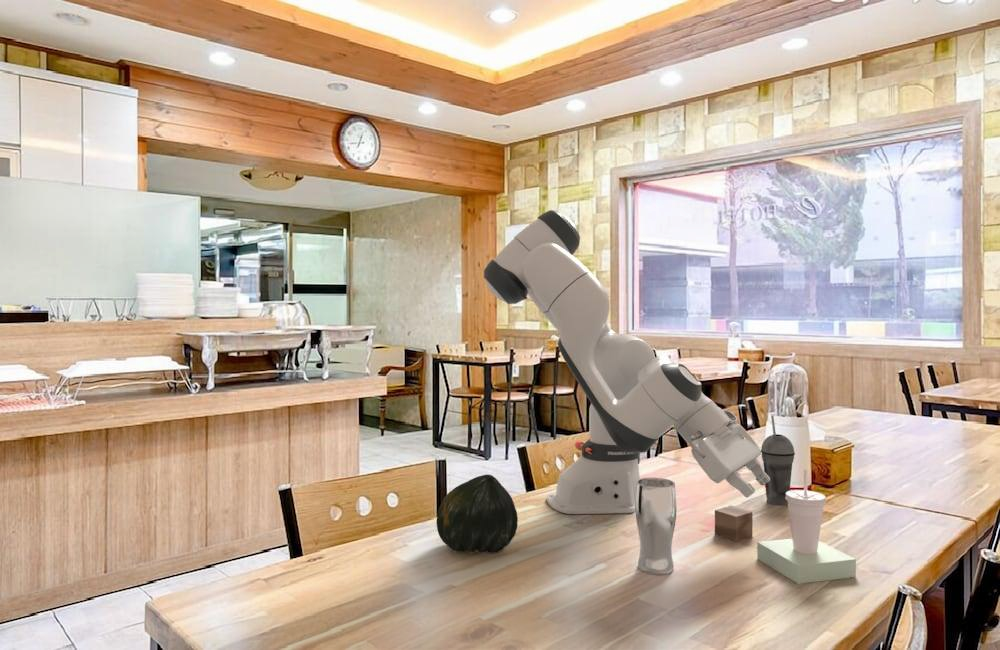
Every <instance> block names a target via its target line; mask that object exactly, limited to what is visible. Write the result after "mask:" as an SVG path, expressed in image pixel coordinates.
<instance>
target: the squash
mask: <svg viewBox="0 0 1000 650" xmlns="http://www.w3.org/2000/svg"><path fill="white" fill-rule="evenodd" d="M518 521H519V520H518V511H517V508H516V506H515V503H514V500H513V498H512V496H511V494H510V493H509V492H508V490H507V489H506V488H505V487H504V486H503V485H502V484H501V483H500V481H499V480H498V479H497V478H496V477H495V476H493V475H492V474H483V475H478V476H476V477H473V478H471V479H470V480H467V481H466V482H463V483H461V484H459V485H457V486H456V487H454V488H453V489H451V490H449V492H448V493H447V494H446V495H445V496H444V497H443V499H442V502H441V504H440V505H439V507H438V510H437V514H436V528H437V534H438V536H439V537H440V540H441V541H442V543H444V544H445V545H446V547H448V548H449V549H450V550H451V551H454V552H456V553H461V552H465V551H466V552H467V553H474V552H475V551H477V552H478V553H484V552H485V553H489V554H497V553H500V552H502V551H503V550H504V549H505V548H506V547H507V546H509V544H510V543H511V542H512V541H513V539H514V537H515V535H516V534H517V533H516V532H517V529H518V523H519V522H518Z"/></svg>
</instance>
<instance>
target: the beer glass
mask: <svg viewBox="0 0 1000 650" xmlns="http://www.w3.org/2000/svg"><path fill="white" fill-rule="evenodd" d="M676 492H677V491H676V482H675V481H673V480H670V479H668V478H661V477H642V478H640V479H639V480H637V481H636V496H635V511H634V512H635V518H636V519H635V521H636V527H637V531H638V538H639V548H640V549H639V555H638V561H637V562H638V563H637V568H638V569H639V570H640V571H641V572H643V573H645V574H648V575H654V576H665V575H668V574H669V575H670V574H671V573H672V572H673V571H675V567H674V566H675V565H674V561H673V560H674V559H673V556H672V555H673V552H672V547H673V546H672V544H673V537H674V533H675V526H676V519H677V508H678V507H677V493H676Z"/></svg>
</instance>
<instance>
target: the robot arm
mask: <svg viewBox="0 0 1000 650" xmlns="http://www.w3.org/2000/svg"><path fill="white" fill-rule="evenodd" d="M580 240H581V236H580V234H579V231H578V229H577V227H576V224H575V223H574V222H573V221H572V220H571V219H570V218H569V217H568V216H566V215H565V214H563V213H561V212H559V211H558V210H552V209H550V210H547V211H545V212H544V213H542V214H541V215H539V216H537V219H536V220H535V221H533V222H532V223H530V224H529V225H527V226H526V227H525V228H523V229H522V230H521V231H520V232H518V233H517V234H516V235H515V236H514V238H513V239H512V240H510V241H509V243H508V244H507V245H505V247H503V249H502V250H501V251H500V252H499V253H498V254H497V255H496V257H495V258H494V259H491V260H490V261H489V262H488V264H487V265H486V267H485V268H484V269H483V278H484V280H485V283H486V286H487V288H488V290H489V292H490V293H491V294H492V295H493V296H494V297H495V298H496V299H498V300H500V301H502V302H504V303H506V304H509V305H516V304H518V303H520V302H522V301H524V300H527V299H528V296H529V297H530V299H531V301H533V304H534V305H535V306H536V307H537V308H538V310H539V311H540V312H541V313H542V314H543V316H544V317H545V318H546V319H547V320H548V321H549V322H550V324H552V326H553V327H554V328H555V329H556V331H558V333H559V339H558V342H557V346H558V350H559V352H560V354H561V355H562V359H563V360H564V362H565V364H566V365H567V367H568V369H569V370H570V372H571V373H572V375H573V377H574V379H575V380H576V382H577V383H578V385H579V386H580V388H581V389H582V392H584V394H585V396H586V397H587V399H588V400H589V402H590V406H589V409H588V410H589V411H588V413H589V416H588V419H589V421H588V422H589V423H588V426H589V427H588V428H589V431H588V433H589V435H588V436H589V437H588V440H586V441H585V442H583V441H582V440H576V441H575V443H574V447H575V449H577V450H579V451H581V455H580V457H579V458H578V459H577V460H575V461H574V462H573V463H572V464H570V465H569V466H568V467H566V468H564V469H563V470H562V471H561V472H560V474H559V475H558V479H557V483H556V484H557V485H556V488H555V489H556V490H555V492H550V493H548V494H547V496H546V502H547V504H548V505H549V506H550V507H551V508H552V509H554V510H555V511H557V512H560V513H563V514H567V515H586V514H587V515H590V514H600V515H601V514H633V513H634V512H635V496H636V481H637V480H639V479H641V478H640V468H639V467H640V466H639V464H640V462H641V458H640V457H641V453H647V452H648V451H649V450H650V449H651V448H652V447H653V446H654V444H655V443H656V442H657V441H659V438H660V437H661V436H663V435H664V434H665V433H666V432H667V431H668V430H670V428H672V427H674V428H675V430H676V431H677V432H678V434H679V435H680V436H681V437H682V438H683V440H684V441H685V443H687V444H688V446H690V448H691V451H690V452H691V454H692V457H693V458H694V459H695V461H696V462H697V464H698V465H699V466H700V468H701V469H702V470H703V472H704V473H705V474H706V476H707V477H708V478H709V479H710V480H711V481H713V482H714V483H716V484H720V483H721V482H723V481H725V480H726V482H727V483H728V484H729V486H732V488H734V489H736V490H738V491H739V492H740V493H741V494H742V495H743V496H744V497H745V498H749V497H751V496H752V495H753V494H754V493H756V489H755V488H754V487H753V486H752V484H751V483H750V482H746V480H744V479H743V477H741V474H740V473H739V471H741V469H744V467H746V468H747V470H749V471H751V473H752V475H754V477H755V481H756V482H758V483H759V485H760V486H763V487H764V486H765V484H766V483H767V482H769V481H770V477H769V476H768V475H767V474H766V473H765V472H764V467H763V466H762V463H761V462H760V461H759V460H758V458H759V457H760V456H762V452H761V449H760V447H759V445H758V444H757V442H756V441H755V440H754V438H753V437H752V436H751V435H750V433H748V432H747V430H746V429H745V428H744V427H743V426H742V424H739V423H738V417H737V416H736V415H735V414H734V413H733V412H732V411H729V410H725V409H722V408H721V407H719V406H718V405H717V404H716V403H715V402H714V401H713V400H712V399H710V397H708V396H706V395H705V394H704V393H703V391H702V383H701V381H699V380H698V378H697V377H696V376H695V375H694V374H693V373H692V372H691V370H689V368H687V366H685V365H684V364H681V363H676V362H675V361H674V360H673V359H671V358H670V357H668V356H667V355H659V356H655V355H656V354H655V351H654V350H653V348H652V345H650V344H649V343H648V342H647V341H645V340H643V339H642V338H639V337H637V336H636V335H633V334H632V335H631V334H623V333H617V332H615V331H614V330H612V329H611V327H610V326H609V325H608V323H607V321H608V318H609V313H610V308H611V307H610V306H611V305H610V304H611V302H610V296H609V294H608V291H607V290H606V288H605V287H604V285H603V284H602V283H601V281H600V280H599V279H598V278H597V277H596V276H595V275H594V274H593V273H592V271H591V270H589V268H587V267H586V266H585V265H584V264H583V263H582V262H581V261H580V260H579V259H577V258H576V257H575V255H574V254H575V253H576V251H577V249H578V248H579V246H580V244H581V243H580V242H581V241H580Z"/></svg>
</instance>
